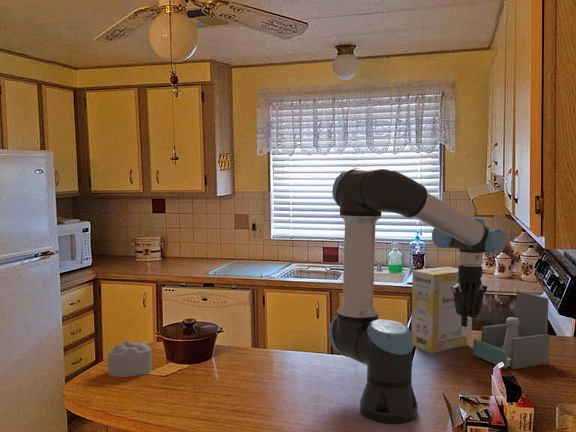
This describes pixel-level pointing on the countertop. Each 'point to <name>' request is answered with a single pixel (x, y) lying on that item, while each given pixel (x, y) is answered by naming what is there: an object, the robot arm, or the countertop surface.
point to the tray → (491, 353)
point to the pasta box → (435, 310)
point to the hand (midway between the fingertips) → (466, 336)
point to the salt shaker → (511, 333)
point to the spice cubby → (524, 332)
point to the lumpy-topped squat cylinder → (129, 359)
